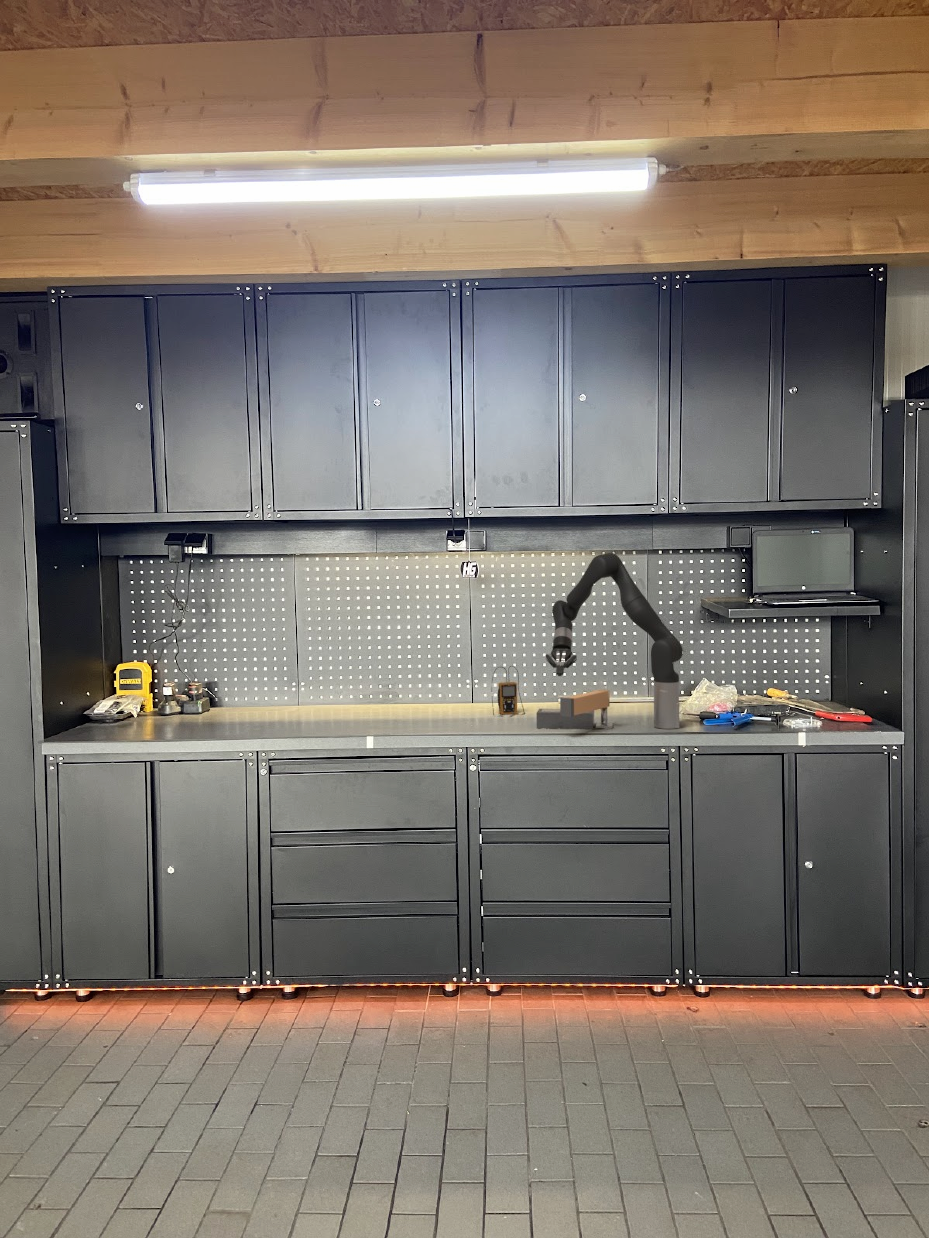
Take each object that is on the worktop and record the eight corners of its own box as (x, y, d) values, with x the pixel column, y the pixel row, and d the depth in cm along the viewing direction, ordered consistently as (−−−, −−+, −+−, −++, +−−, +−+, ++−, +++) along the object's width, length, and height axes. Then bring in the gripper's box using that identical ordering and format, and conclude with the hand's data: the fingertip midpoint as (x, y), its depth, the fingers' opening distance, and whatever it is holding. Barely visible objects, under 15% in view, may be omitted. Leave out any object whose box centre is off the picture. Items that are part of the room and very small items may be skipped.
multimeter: (497, 718, 371) (497, 668, 370) (490, 714, 381) (489, 666, 380) (531, 716, 375) (531, 667, 374) (523, 712, 385) (523, 665, 384)
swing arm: (601, 705, 349) (601, 688, 348) (611, 706, 346) (611, 689, 345) (560, 715, 326) (560, 697, 326) (570, 716, 323) (570, 698, 323)
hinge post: (612, 726, 348) (612, 705, 348) (612, 728, 343) (612, 708, 342) (596, 725, 350) (596, 705, 349) (595, 728, 344) (595, 707, 343)
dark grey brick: (594, 724, 352) (594, 708, 351) (592, 729, 342) (592, 712, 342) (539, 723, 356) (539, 708, 355) (536, 728, 346) (536, 712, 346)
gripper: (545, 634, 370) (542, 668, 359) (578, 635, 368) (576, 669, 356) (546, 646, 376) (543, 680, 364) (579, 647, 373) (577, 681, 362)
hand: (559, 674), depth 360 cm, fingers closed
